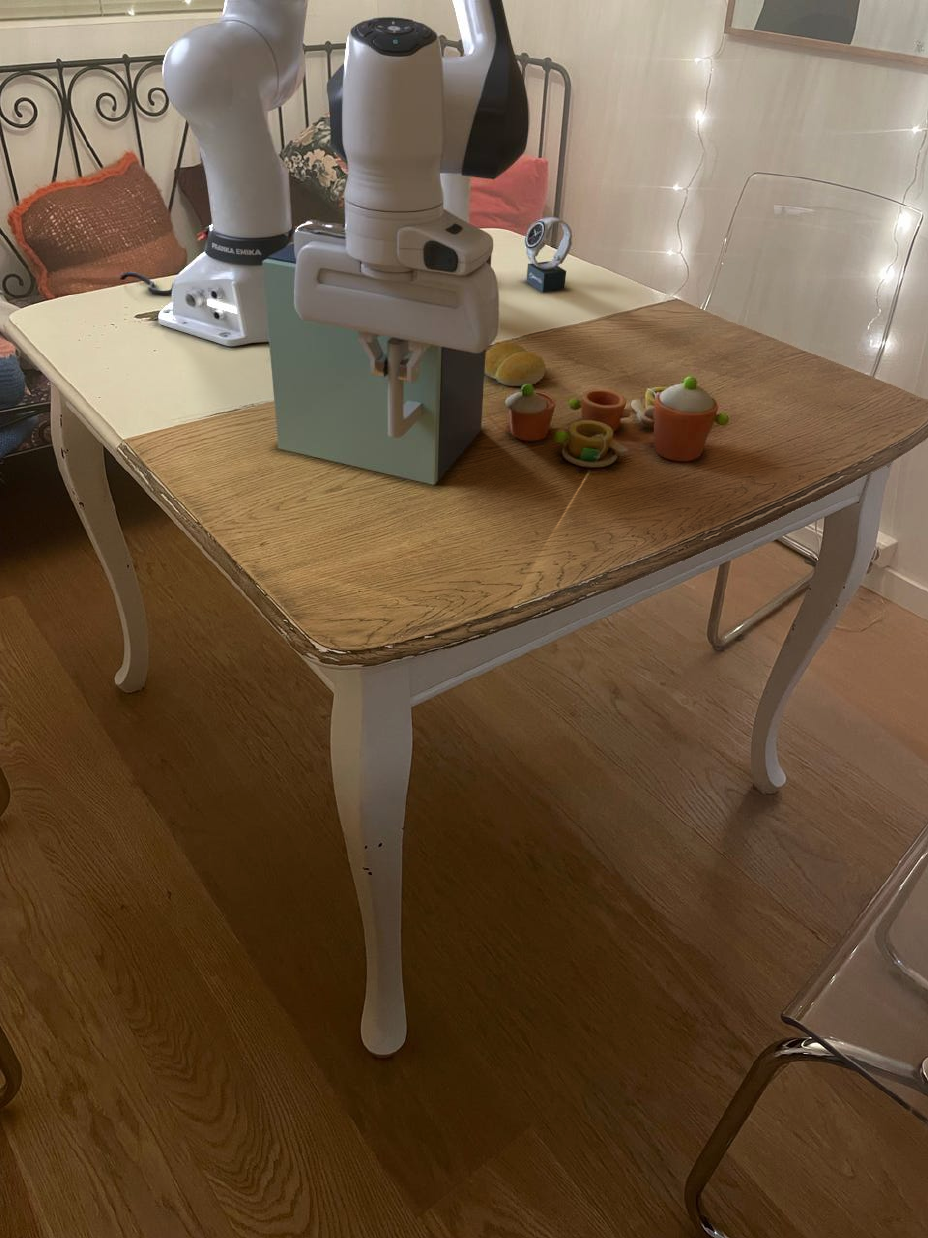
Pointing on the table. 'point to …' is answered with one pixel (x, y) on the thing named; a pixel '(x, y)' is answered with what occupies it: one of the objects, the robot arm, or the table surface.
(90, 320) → the table surface
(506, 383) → the bread roll
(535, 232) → the watch
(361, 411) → the cupboard door
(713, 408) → the toy tea set
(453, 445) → the cupboard
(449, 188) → the bottle
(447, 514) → the table surface
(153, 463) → the table surface
